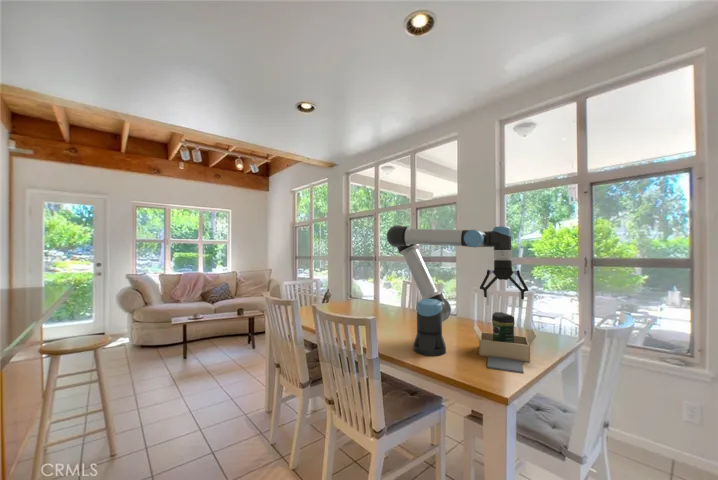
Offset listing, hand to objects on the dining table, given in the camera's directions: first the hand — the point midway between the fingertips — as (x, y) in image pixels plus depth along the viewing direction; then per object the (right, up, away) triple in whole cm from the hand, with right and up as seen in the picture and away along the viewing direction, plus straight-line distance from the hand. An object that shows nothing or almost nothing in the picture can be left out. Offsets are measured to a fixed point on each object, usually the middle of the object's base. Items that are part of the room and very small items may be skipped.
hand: (503, 305), depth 140 cm
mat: (-6, -22, -14) cm, 27 cm away
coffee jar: (0, -22, 0) cm, 22 cm away
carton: (0, -22, 0) cm, 22 cm away
